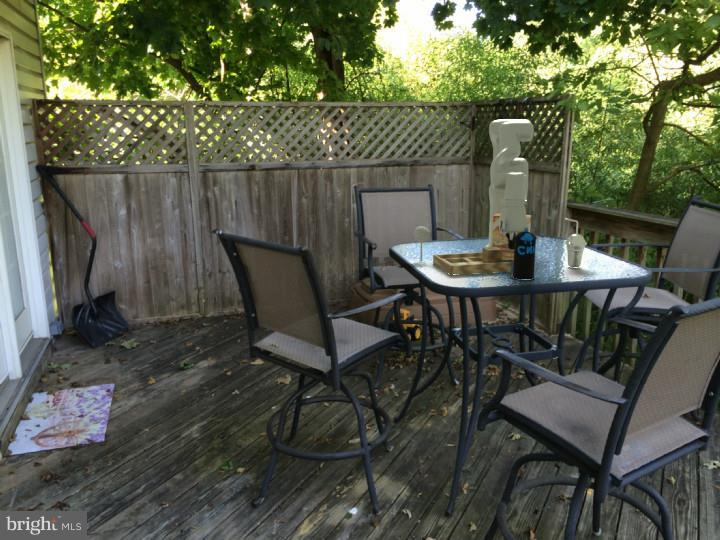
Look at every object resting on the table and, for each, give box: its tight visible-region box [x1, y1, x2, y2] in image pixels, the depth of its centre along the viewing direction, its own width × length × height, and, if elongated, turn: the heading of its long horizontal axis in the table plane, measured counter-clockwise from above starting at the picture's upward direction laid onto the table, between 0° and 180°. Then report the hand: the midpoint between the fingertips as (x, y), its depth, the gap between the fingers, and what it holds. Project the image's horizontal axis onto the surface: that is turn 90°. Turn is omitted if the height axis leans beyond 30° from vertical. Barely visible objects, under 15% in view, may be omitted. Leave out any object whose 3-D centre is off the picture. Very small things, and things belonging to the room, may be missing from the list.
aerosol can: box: [512, 226, 538, 279], centre depth 219 cm, size 8×8×20 cm
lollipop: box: [413, 225, 431, 261], centre depth 253 cm, size 7×7×15 cm
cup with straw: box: [564, 217, 588, 267], centre depth 235 cm, size 8×9×20 cm
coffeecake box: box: [492, 214, 532, 261], centre depth 252 cm, size 15×7×20 cm, turn 65°
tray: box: [432, 251, 512, 276], centre depth 238 cm, size 25×22×4 cm
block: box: [481, 246, 503, 263], centre depth 235 cm, size 6×6×6 cm
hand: (512, 249), depth 235 cm, fingers closed
